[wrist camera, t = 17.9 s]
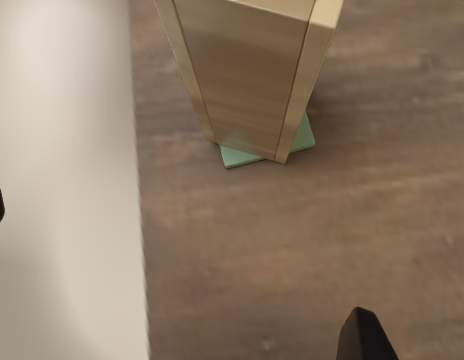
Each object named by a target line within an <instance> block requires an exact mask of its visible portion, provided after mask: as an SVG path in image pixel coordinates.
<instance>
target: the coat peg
mask: <svg viewBox="0 0 464 360" xmlns="http://www.w3.org/2000/svg"><path fill="white" fill-rule="evenodd" d="M314 145H315V140H314V137H313V134H312V130H311V127H310V124H309V120H308V117H307V114H306V111H305V112H304V114H303V117H302V120H301V122H300V125H299V128H298V130H297V133H296V136H295V138H294V141H293V144H292V146H291V149H290V152H289V153H291V152H295V151H299V150H303V149H307V148H311V147H314ZM219 146H220V150H221V154H222V158H223V162H224V166H225V169H228V168H232V167H236V166H239V165H243V164H247V163H251V162H255V161H259V160H263V159H266V158H263V157H259V156H256V155H253V154H249V153H246V152H243V151H240V150H236V149H233V148H230V147H226V146H223V145H220V144H219Z"/></svg>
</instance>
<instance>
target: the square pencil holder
mask: <svg viewBox="0 0 464 360" xmlns="http://www.w3.org/2000/svg"><path fill="white" fill-rule="evenodd" d="M153 1H154V4H155V6H156V9H157V11H158V14H159V17H160V19H161V22H162V25H163V27H164V30H165V32H166V35H167V38H168V40H169V43H170V45H171V48H172V51H173V53H174V56H175V59H176V61H177V64H178V66H179V69H180V72H181V74H182V77H183V79H184V82H185V85H186V87H187V90H188V93H189V95H190V98H191V100H192V103H193V106H194V108H195V111H196V113H197V116H198V119H199V121H200V124H201V127H202V129H203V132H204V134H205V137H206V140H207V141H210V142H214V143H217V144H220V145H223V146H226V147H230V148H233V149H236V150H240V151H243V152H246V153H249V154H253V155H256V156H259V157H263V158H266V159H269V160H273V161H276V162H279V163H283V164H285V162H286V160H287V157H288V154H289V152H290V149H291V146H292V144H293V141H294V138H295V136H296V133H297V130H298V128H299V125H300V122H301V120H302V117H303V114H304V112H305V109H306V106H307V104H308V101H309V98H310V96H311V93H312V90H313V88H314V85H315V82H316V80H317V77H318V74H319V72H320V69H321V66H322V64H323V61H324V58H325V56H326V53H327V50H328V48H329V45H330V42H331V40H332V37H333V34H334V32H335V29H336V26H337V23H338V20H339V16H340V13H341V10H342V6H343V3H344V0H153Z"/></svg>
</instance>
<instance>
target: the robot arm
mask: <svg viewBox="0 0 464 360" xmlns="http://www.w3.org/2000/svg"><path fill="white" fill-rule="evenodd" d="M4 213H5V208H4V203H3V198H2V193H1V190H0V221H1V220H2V218H3V216H4ZM336 360H399V359H398V357H397V355H396V353H395V351H394V349H393V347H392V345H391V344H390V342H389V340H388V338H387V336H386V334H385V332H384V330H383V328H382V326H381V324H380V322H379V320H378V318H377V316H376V315H375V314H374V312H372V311H370V310H367V309H364V308H361V307H355V308H354V309H353V310H352V312H351V313H350V315H349V317H348V318H347V320H346V322H345V323H344V325H343V327H342V329H341V332H340V337H339V344H338V351H337V358H336Z"/></svg>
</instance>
